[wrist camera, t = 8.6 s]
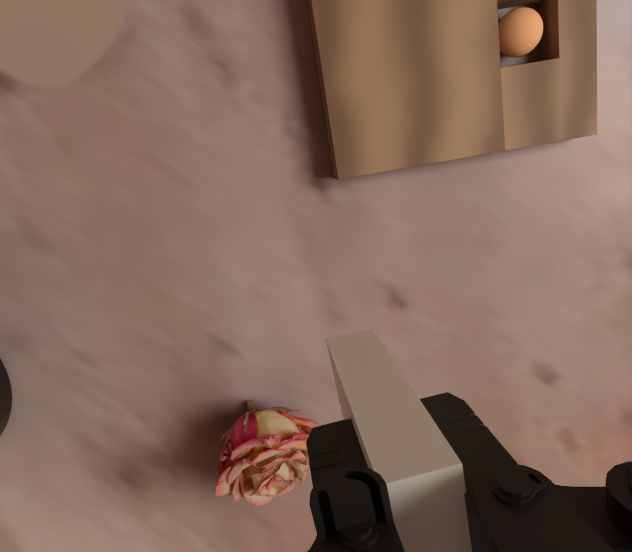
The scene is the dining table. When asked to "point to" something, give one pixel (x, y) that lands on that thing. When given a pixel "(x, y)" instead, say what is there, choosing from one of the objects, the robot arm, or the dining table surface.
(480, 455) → the robot arm
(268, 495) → the flower
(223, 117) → the dining table surface
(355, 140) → the board
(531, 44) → the ball
